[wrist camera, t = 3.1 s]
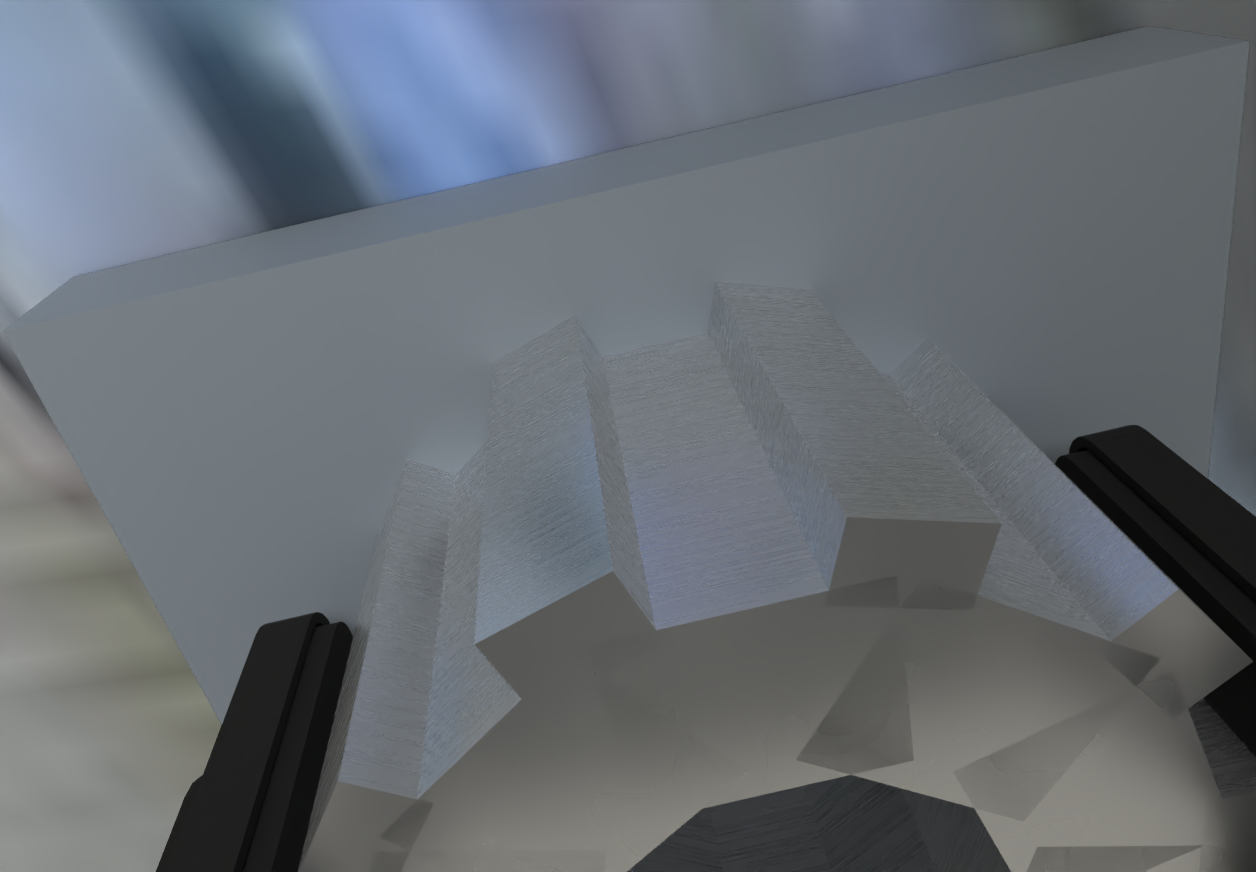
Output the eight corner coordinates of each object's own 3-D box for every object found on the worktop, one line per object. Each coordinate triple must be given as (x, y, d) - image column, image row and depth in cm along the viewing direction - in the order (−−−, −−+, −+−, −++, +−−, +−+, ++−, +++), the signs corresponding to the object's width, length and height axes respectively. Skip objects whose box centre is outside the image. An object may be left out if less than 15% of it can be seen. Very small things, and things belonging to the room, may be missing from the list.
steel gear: (271, 384, 9) (107, 685, 5) (1022, 211, 9) (1358, 399, 5) (480, 875, 12) (464, 1264, 9) (1027, 751, 12) (1237, 1091, 8)
